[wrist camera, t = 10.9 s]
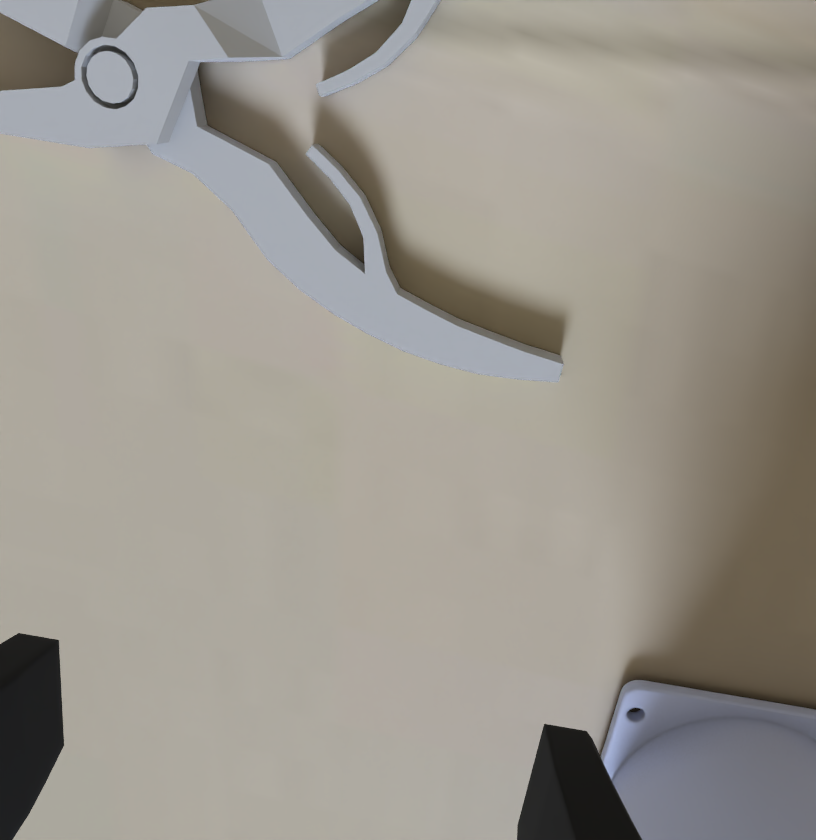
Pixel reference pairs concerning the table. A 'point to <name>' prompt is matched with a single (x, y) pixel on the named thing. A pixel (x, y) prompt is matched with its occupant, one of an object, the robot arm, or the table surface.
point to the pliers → (246, 149)
